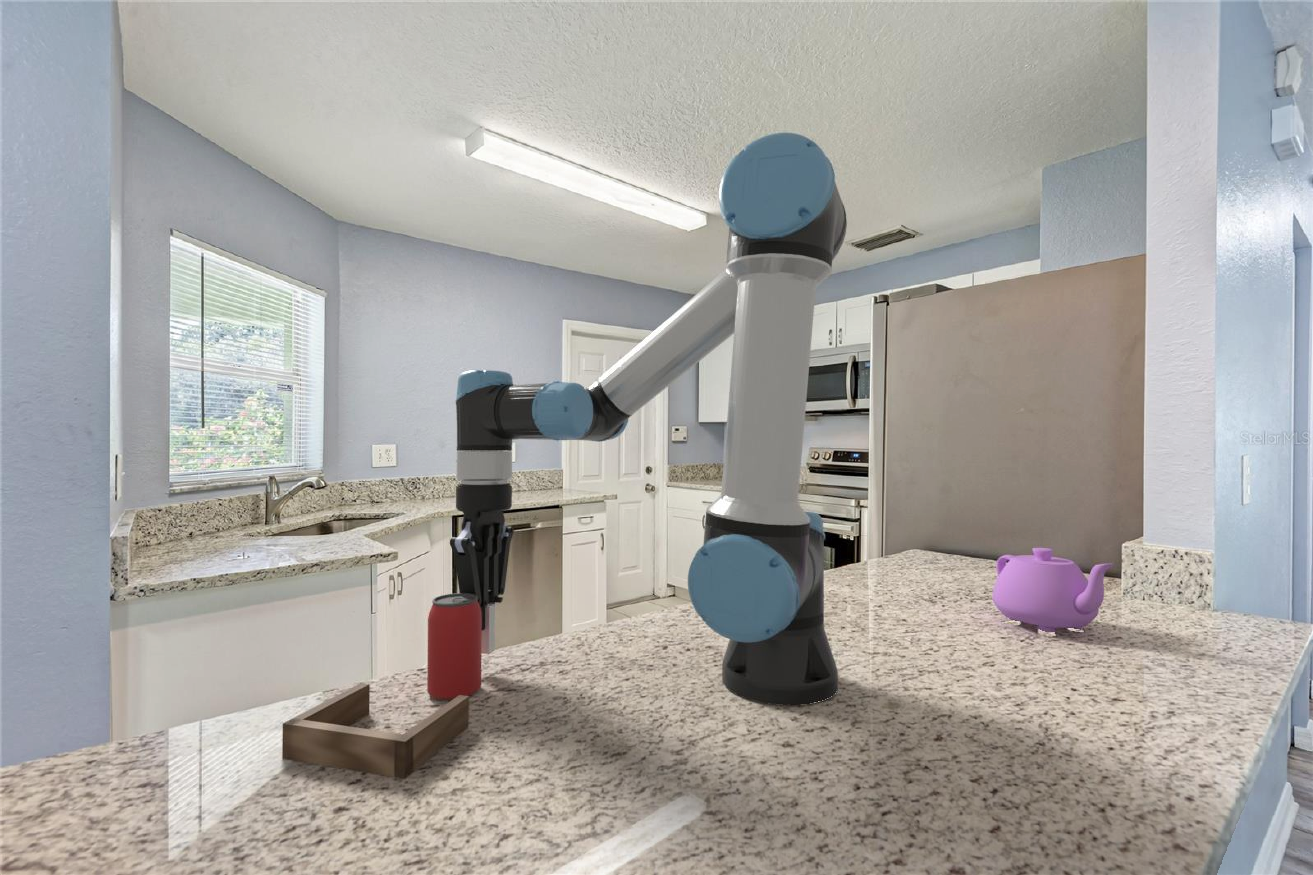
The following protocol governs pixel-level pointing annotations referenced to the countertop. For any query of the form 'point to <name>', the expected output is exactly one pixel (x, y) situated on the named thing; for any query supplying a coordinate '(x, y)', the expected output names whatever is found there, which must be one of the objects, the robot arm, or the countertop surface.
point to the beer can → (454, 646)
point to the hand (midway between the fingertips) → (483, 651)
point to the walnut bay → (369, 736)
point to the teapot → (1048, 590)
